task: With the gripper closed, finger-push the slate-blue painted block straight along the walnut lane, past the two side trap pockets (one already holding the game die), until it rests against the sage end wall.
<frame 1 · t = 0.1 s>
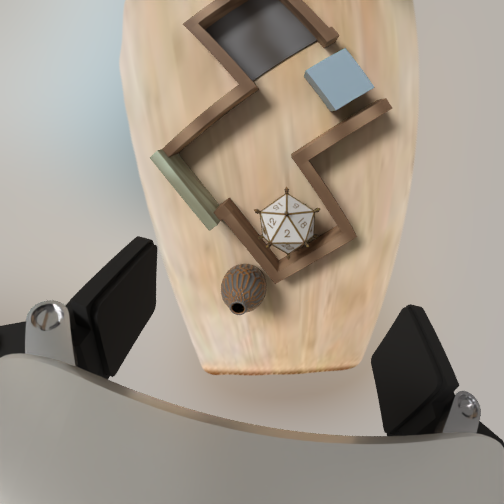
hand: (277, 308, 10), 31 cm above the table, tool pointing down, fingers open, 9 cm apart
vase: (247, 275, 46), on the table
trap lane: (275, 121, 35), on the table
slate block: (334, 83, 31), on the table
game die: (288, 214, 41), on the table
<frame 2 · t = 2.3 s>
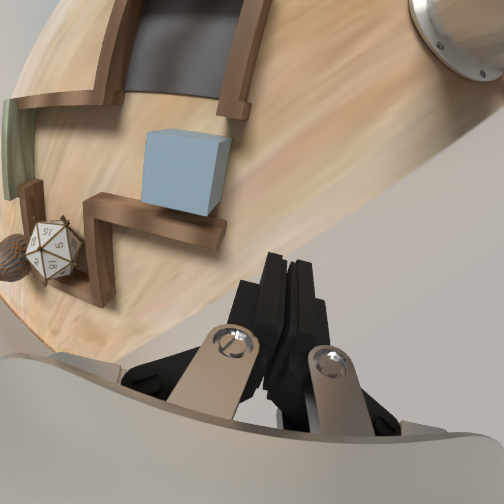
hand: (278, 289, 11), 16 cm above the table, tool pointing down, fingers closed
vase: (29, 246, 34), on the table
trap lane: (110, 149, 25), on the table
slate block: (196, 163, 25), on the table
game die: (72, 234, 31), on the table
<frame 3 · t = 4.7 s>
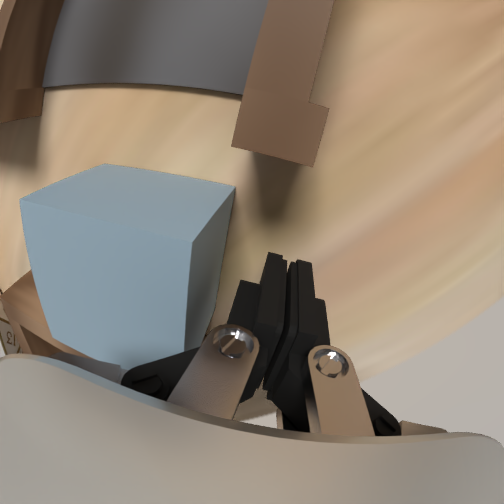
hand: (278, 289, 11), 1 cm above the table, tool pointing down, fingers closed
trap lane: (30, 201, 12), on the table
slate block: (158, 238, 12), on the table, touching gripper
game die: (15, 313, 18), on the table
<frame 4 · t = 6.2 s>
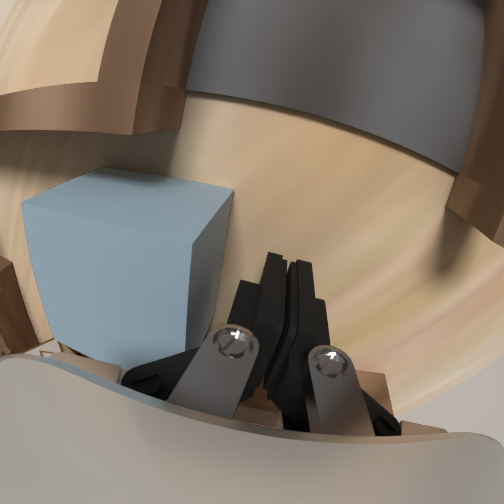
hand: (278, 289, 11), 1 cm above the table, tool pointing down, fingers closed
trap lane: (145, 239, 12), on the table
slate block: (158, 240, 12), on the table, touching gripper
game die: (80, 353, 18), on the table
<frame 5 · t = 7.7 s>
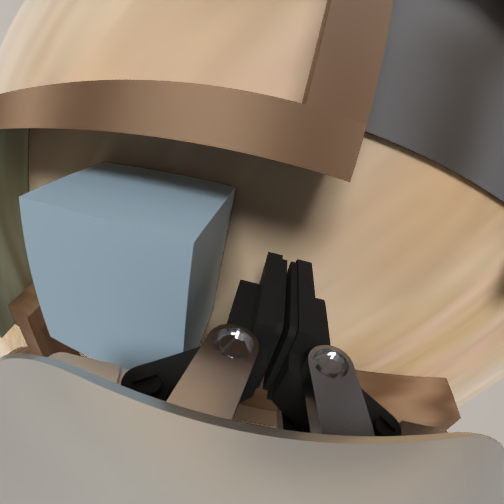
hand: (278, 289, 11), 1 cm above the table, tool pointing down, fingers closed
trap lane: (270, 270, 12), on the table
slate block: (157, 238, 12), on the table, touching gripper
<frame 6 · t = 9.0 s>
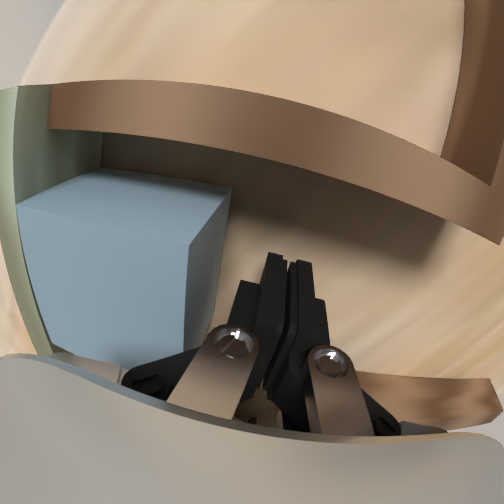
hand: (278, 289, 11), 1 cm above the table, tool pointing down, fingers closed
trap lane: (389, 301, 12), on the table
slate block: (156, 242, 12), on the table, touching gripper, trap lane
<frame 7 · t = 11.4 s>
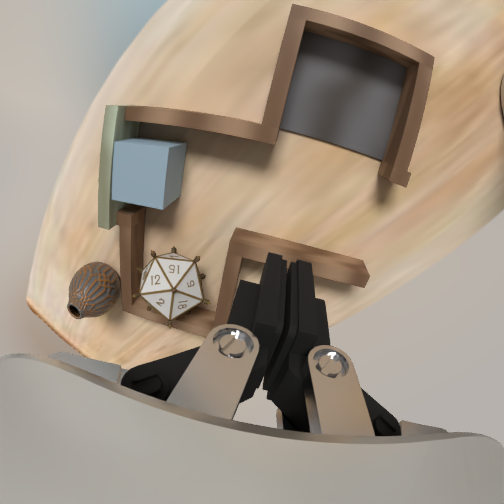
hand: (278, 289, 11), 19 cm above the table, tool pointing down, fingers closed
vase: (108, 275, 36), on the table
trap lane: (255, 186, 28), on the table
slate block: (159, 165, 29), on the table
game die: (183, 267, 34), on the table
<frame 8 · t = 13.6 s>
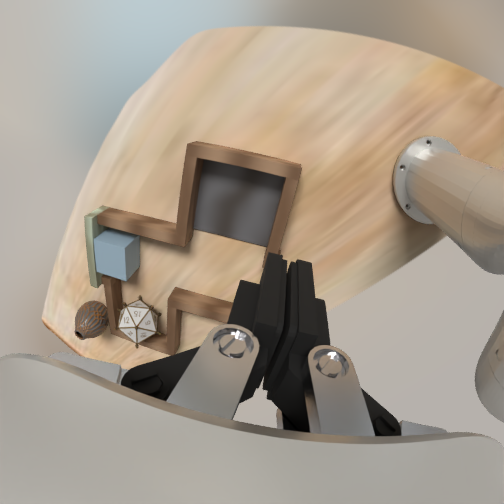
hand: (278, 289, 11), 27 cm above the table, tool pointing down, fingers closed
vase: (101, 308, 52), on the table
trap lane: (183, 263, 43), on the table
slate block: (124, 246, 44), on the table
game die: (147, 307, 49), on the table
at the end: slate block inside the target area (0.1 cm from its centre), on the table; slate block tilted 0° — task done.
